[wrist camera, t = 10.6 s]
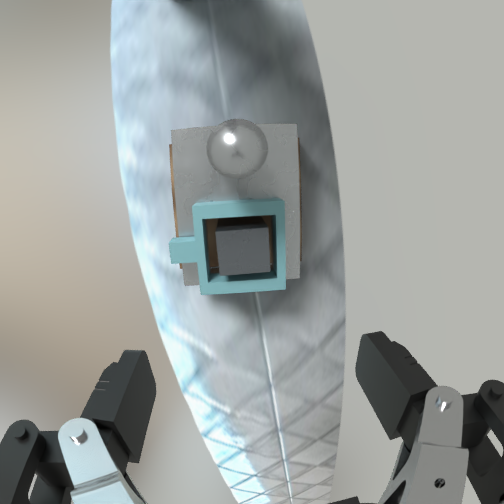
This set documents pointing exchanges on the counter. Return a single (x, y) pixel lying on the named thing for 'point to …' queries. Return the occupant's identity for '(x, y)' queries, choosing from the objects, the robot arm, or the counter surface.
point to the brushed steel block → (242, 245)
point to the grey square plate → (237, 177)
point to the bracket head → (198, 252)
